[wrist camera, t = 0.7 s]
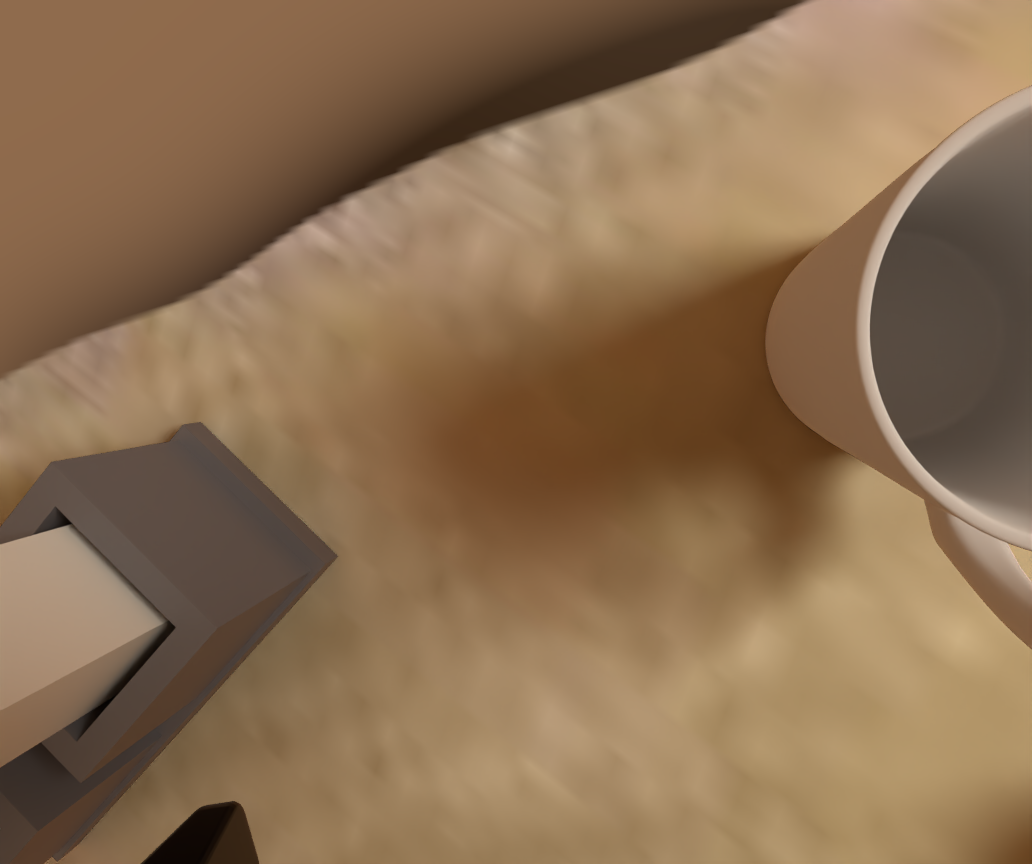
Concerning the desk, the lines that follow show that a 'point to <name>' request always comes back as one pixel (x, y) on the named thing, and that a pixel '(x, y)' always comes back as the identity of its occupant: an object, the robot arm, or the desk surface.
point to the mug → (932, 345)
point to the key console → (175, 593)
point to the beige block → (65, 635)
